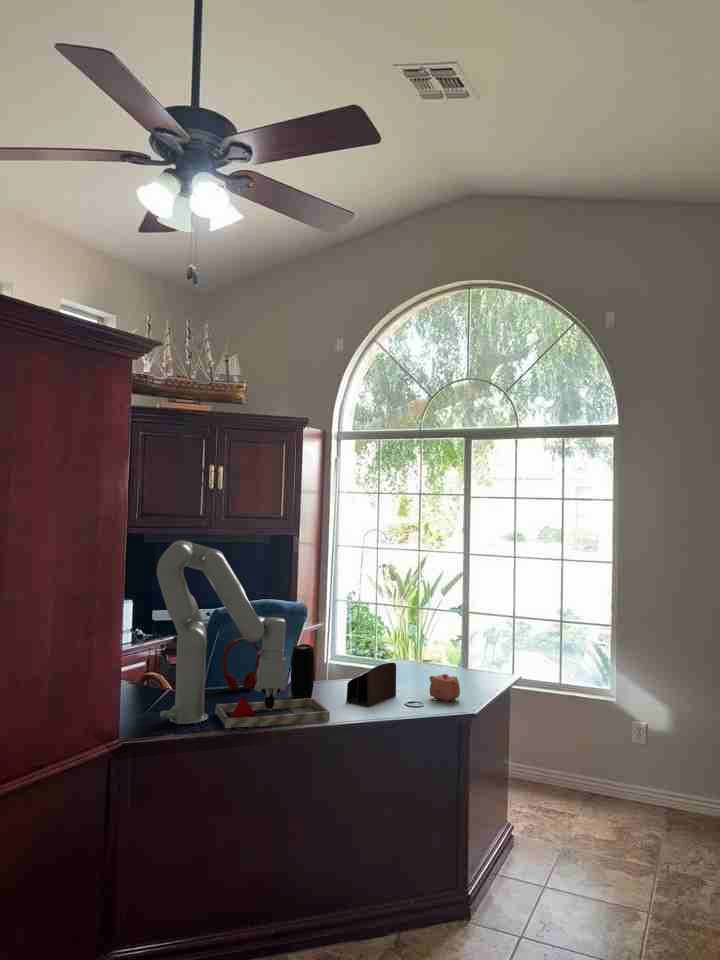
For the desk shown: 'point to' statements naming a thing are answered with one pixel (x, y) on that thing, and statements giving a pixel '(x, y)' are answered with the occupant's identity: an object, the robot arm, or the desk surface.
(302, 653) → the portable speaker
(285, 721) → the shallow open box tray
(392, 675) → the letter holder
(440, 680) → the teapot
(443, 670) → the desk surface
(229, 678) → the headphones
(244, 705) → the gemstone
